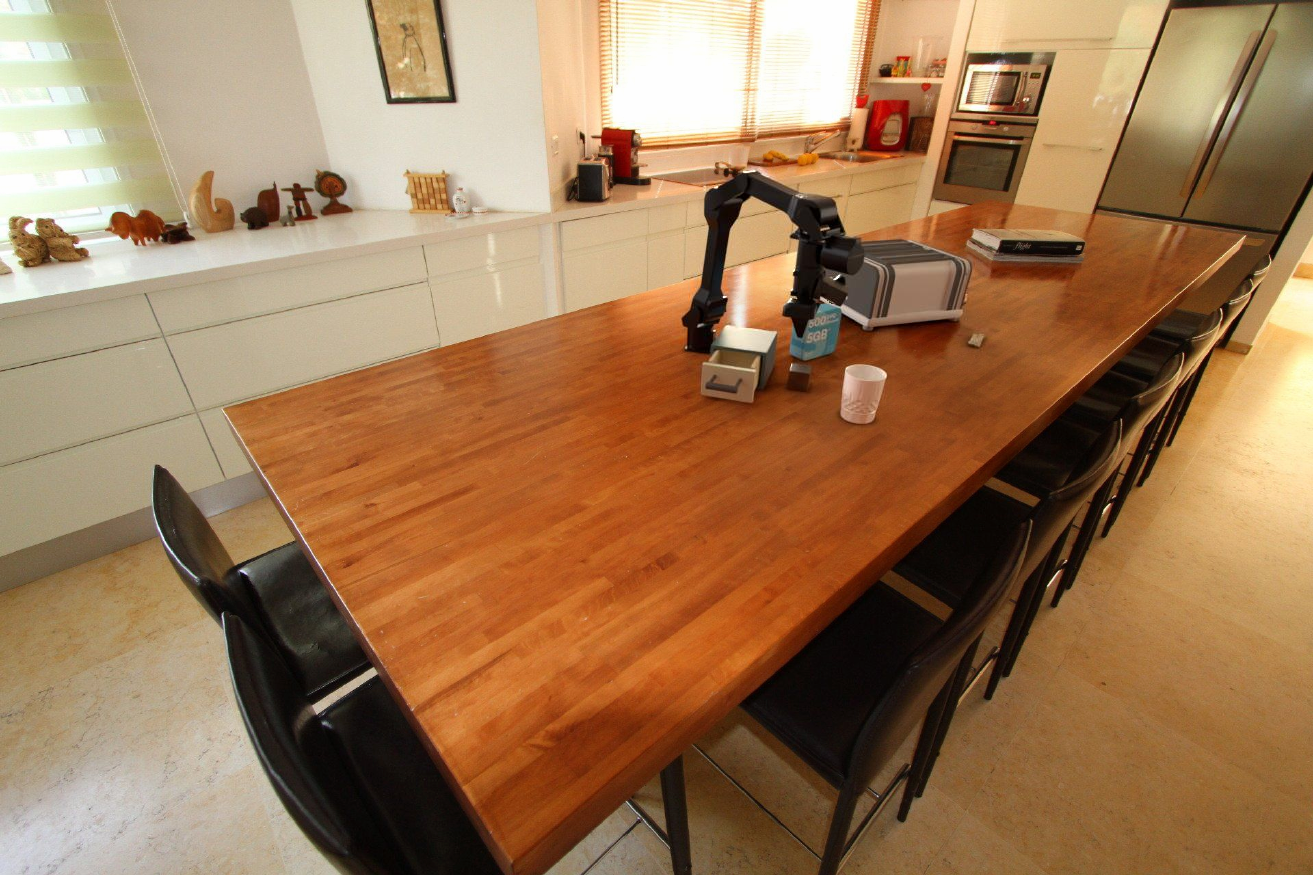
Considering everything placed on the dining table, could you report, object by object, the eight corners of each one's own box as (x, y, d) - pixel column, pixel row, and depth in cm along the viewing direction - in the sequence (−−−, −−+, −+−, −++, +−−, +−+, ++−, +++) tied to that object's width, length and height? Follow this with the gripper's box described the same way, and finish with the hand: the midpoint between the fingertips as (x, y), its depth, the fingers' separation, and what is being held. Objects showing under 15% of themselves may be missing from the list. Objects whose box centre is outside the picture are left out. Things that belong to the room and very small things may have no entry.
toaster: (971, 320, 172) (990, 258, 163) (865, 332, 164) (878, 267, 154) (905, 290, 198) (917, 234, 188) (810, 298, 189) (818, 241, 180)
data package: (801, 362, 146) (807, 315, 140) (788, 356, 149) (794, 310, 143) (835, 352, 151) (843, 307, 145) (822, 346, 155) (829, 302, 148)
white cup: (856, 429, 118) (865, 384, 112) (829, 412, 124) (836, 368, 118) (885, 420, 121) (895, 376, 116) (857, 404, 127) (866, 361, 122)
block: (786, 388, 133) (789, 370, 131) (789, 380, 137) (792, 363, 134) (806, 392, 132) (809, 373, 129) (809, 383, 135) (812, 365, 133)
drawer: (745, 415, 120) (748, 383, 117) (693, 406, 124) (694, 374, 120) (763, 379, 135) (766, 350, 131) (715, 372, 138) (717, 343, 135)
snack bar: (980, 346, 153) (969, 340, 154) (976, 351, 154) (965, 345, 155) (986, 334, 160) (976, 329, 161) (982, 339, 161) (972, 333, 162)
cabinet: (762, 390, 132) (766, 352, 128) (708, 381, 136) (711, 345, 131) (773, 366, 143) (777, 331, 139) (723, 359, 147) (726, 325, 142)
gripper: (846, 281, 109) (833, 359, 117) (855, 257, 124) (843, 328, 132) (786, 274, 113) (777, 351, 121) (802, 252, 128) (793, 321, 136)
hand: (800, 337), depth 127 cm, fingers closed
